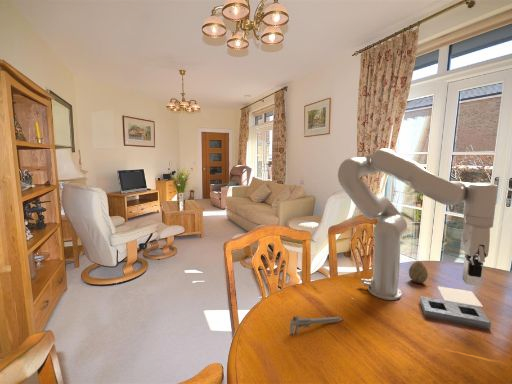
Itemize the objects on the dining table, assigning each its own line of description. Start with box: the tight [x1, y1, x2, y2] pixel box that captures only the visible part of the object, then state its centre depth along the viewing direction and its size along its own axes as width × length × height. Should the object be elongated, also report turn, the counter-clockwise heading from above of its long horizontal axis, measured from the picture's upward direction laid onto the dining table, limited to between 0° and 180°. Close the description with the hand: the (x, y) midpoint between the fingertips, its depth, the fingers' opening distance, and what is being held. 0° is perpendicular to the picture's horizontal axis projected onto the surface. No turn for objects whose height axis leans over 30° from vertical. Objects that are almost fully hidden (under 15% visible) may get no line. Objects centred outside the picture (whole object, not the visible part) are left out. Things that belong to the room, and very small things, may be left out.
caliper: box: [289, 315, 343, 336], centre depth 87 cm, size 20×1×6 cm, turn 112°
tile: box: [436, 285, 484, 308], centre depth 104 cm, size 12×12×1 cm
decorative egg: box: [408, 260, 429, 284], centre depth 116 cm, size 7×7×10 cm
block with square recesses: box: [419, 295, 492, 331], centre depth 92 cm, size 18×10×3 cm, turn 67°
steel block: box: [461, 256, 485, 287], centre depth 88 cm, size 4×4×8 cm
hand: (471, 272), depth 88 cm, fingers closed on steel block, 4 cm apart
